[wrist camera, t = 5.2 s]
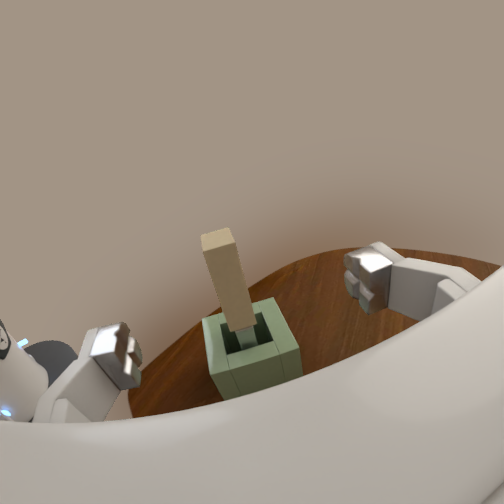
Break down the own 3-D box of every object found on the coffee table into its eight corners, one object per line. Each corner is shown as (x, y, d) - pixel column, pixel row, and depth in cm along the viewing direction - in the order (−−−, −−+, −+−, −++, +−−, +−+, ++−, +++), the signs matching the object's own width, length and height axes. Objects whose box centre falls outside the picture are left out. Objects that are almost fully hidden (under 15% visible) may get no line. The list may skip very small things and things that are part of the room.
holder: (228, 408, 24) (209, 374, 22) (217, 354, 31) (201, 318, 29) (304, 384, 25) (299, 347, 22) (281, 334, 32) (273, 296, 30)
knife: (250, 384, 27) (202, 252, 19) (243, 361, 30) (200, 234, 22) (272, 378, 27) (235, 243, 20) (263, 354, 30) (228, 225, 23)
